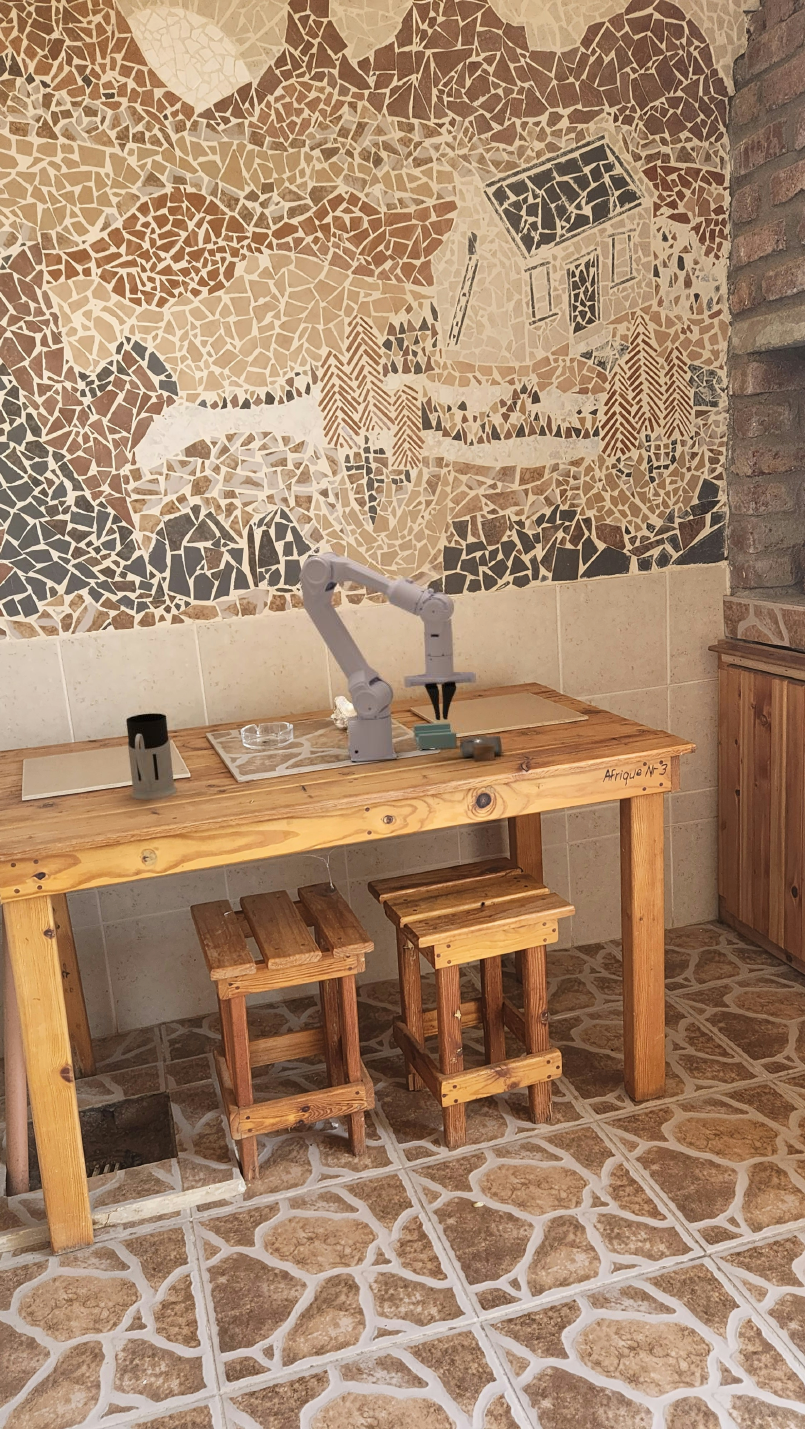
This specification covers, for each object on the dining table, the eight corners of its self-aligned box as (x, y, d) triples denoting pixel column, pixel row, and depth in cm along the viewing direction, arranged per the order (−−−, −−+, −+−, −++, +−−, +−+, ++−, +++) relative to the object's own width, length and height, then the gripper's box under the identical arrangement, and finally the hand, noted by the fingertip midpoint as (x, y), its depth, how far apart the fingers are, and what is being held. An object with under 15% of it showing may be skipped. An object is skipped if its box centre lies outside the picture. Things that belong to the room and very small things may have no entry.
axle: (463, 760, 224) (463, 741, 222) (460, 754, 227) (460, 736, 226) (501, 757, 224) (501, 739, 223) (498, 751, 228) (497, 733, 227)
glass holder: (180, 784, 215) (173, 711, 212) (167, 807, 202) (159, 729, 198) (136, 786, 215) (128, 713, 212) (120, 809, 201) (111, 732, 198)
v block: (419, 750, 231) (419, 736, 231) (414, 738, 241) (413, 724, 240) (456, 747, 232) (456, 733, 231) (449, 736, 242) (449, 722, 241)
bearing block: (475, 761, 221) (474, 747, 221) (468, 750, 230) (467, 736, 229) (494, 760, 222) (494, 746, 221) (486, 748, 230) (486, 735, 230)
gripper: (405, 659, 215) (408, 725, 219) (477, 655, 217) (479, 720, 220) (401, 653, 222) (404, 717, 225) (471, 649, 224) (473, 712, 227)
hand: (441, 718), depth 223 cm, fingers closed
